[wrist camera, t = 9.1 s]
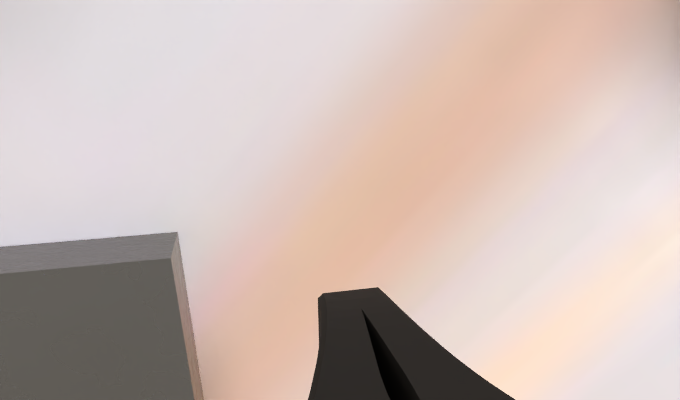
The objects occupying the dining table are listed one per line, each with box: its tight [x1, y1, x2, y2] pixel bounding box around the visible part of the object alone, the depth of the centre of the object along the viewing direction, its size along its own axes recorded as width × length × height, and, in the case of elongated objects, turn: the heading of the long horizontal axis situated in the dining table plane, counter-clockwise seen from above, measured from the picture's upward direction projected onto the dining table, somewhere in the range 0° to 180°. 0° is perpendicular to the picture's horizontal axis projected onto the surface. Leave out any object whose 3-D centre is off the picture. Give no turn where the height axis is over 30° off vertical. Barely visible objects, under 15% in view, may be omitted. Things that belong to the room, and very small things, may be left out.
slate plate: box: [0, 232, 204, 400], centre depth 19 cm, size 10×12×2 cm
